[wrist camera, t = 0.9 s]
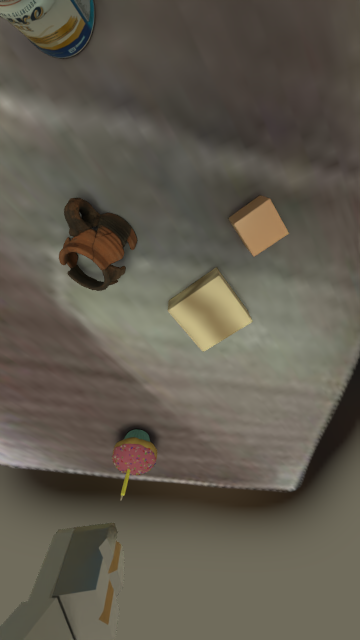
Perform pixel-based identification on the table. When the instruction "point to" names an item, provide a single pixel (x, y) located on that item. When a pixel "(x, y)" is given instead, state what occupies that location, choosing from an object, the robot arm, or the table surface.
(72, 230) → the brown rounded piece
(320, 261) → the table surface
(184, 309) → the beech block
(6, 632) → the robot arm
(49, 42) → the vitamin bottle
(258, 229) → the terracotta cube
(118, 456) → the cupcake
